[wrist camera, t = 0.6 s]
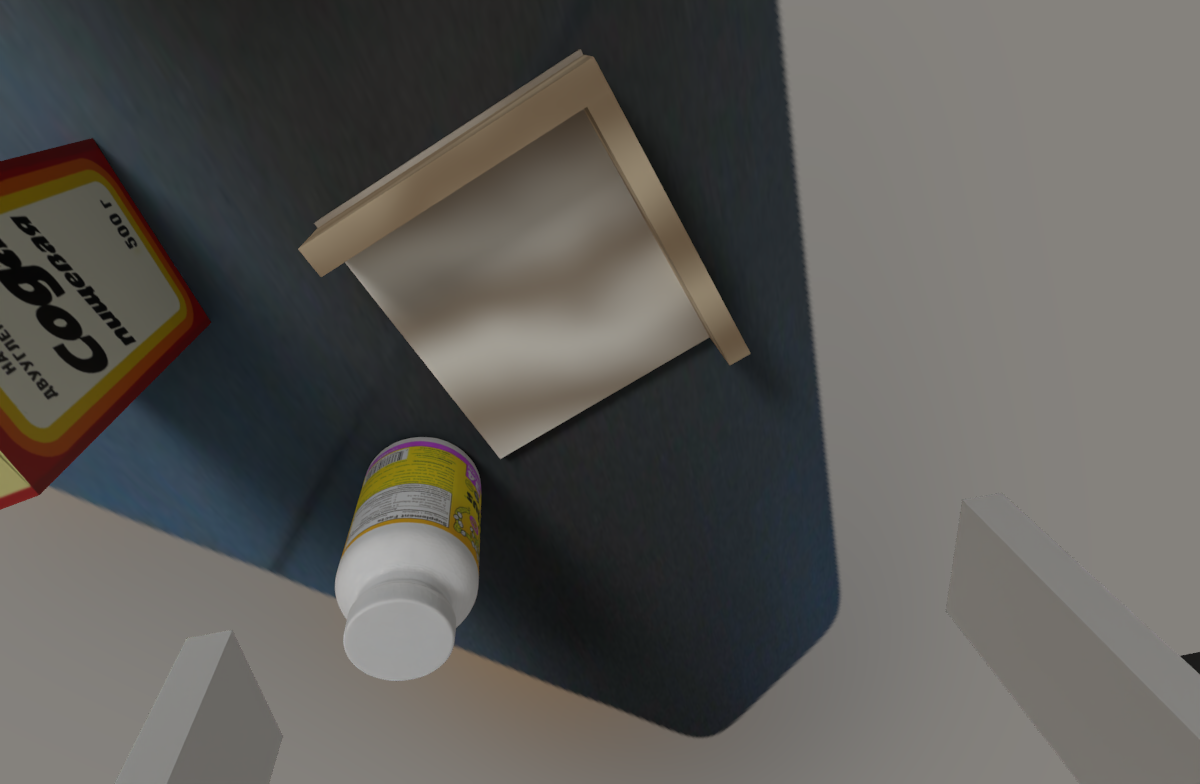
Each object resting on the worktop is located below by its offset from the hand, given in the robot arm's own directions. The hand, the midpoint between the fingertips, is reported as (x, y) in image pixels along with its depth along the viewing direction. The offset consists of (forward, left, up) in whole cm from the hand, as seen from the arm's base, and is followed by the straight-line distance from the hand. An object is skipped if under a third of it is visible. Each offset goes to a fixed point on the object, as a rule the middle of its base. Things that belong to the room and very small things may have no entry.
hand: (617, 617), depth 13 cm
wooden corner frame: (+1, -2, -27) cm, 27 cm away
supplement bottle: (+8, -13, -27) cm, 31 cm away
